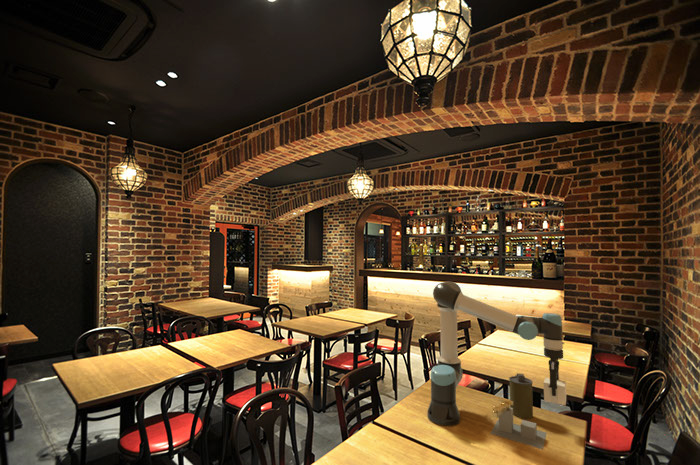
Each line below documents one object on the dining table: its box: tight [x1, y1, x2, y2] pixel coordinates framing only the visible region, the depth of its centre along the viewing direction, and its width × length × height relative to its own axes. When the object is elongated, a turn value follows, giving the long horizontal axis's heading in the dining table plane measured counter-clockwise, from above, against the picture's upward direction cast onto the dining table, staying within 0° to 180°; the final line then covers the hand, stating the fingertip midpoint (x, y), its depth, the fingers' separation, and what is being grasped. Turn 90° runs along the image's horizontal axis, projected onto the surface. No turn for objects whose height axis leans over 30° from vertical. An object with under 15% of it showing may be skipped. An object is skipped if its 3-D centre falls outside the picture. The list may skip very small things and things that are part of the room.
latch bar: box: [491, 396, 513, 419], centre depth 145 cm, size 15×6×4 cm, turn 135°
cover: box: [543, 377, 567, 406], centre depth 151 cm, size 8×8×8 cm
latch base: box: [490, 408, 548, 450], centre depth 146 cm, size 20×16×10 cm
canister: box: [508, 373, 534, 420], centre depth 164 cm, size 11×10×20 cm
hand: (555, 399), depth 150 cm, fingers closed on cover, 8 cm apart
